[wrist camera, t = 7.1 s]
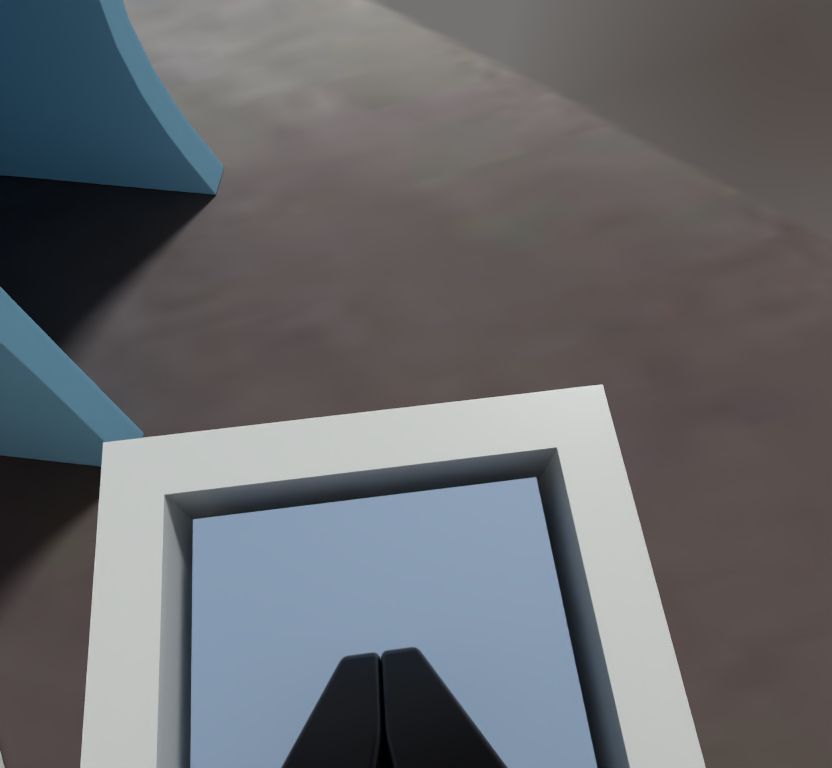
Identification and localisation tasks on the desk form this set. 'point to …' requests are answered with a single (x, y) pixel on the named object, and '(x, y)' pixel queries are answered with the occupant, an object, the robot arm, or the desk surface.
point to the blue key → (383, 618)
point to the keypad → (363, 478)
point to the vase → (89, 163)
